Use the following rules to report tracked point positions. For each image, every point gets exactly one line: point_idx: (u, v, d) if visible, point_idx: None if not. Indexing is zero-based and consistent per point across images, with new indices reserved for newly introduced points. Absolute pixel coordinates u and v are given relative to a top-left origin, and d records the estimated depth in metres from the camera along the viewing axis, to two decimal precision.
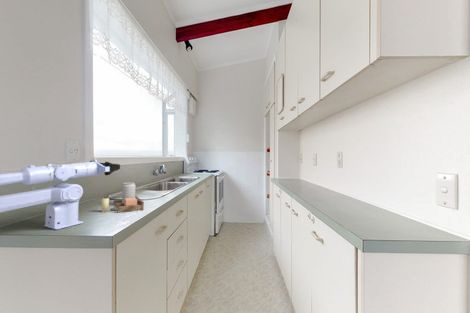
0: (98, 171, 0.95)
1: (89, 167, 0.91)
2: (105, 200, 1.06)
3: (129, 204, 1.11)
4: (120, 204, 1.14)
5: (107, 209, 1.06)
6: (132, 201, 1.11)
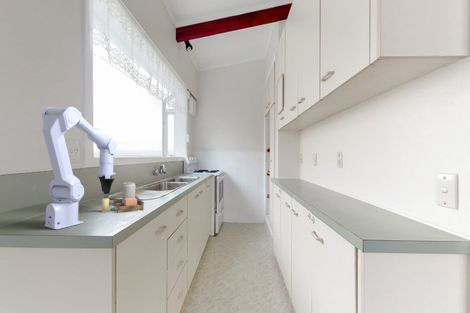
0: (104, 173, 1.04)
1: (109, 165, 1.05)
2: (105, 200, 1.06)
3: (129, 204, 1.11)
4: (120, 204, 1.14)
5: (107, 209, 1.06)
6: (132, 201, 1.11)
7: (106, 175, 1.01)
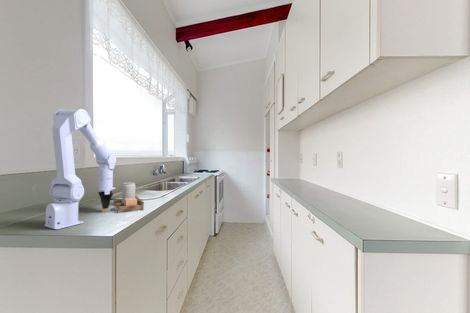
0: (103, 189, 1.04)
1: (108, 181, 1.05)
2: None
3: (129, 204, 1.11)
4: (120, 204, 1.14)
5: (107, 209, 1.06)
6: (132, 201, 1.11)
7: (105, 191, 1.01)
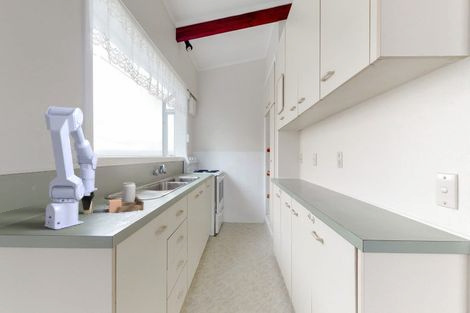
0: None
1: (89, 181, 1.01)
2: None
3: (113, 206, 1.06)
4: None
5: (89, 211, 1.02)
6: (116, 203, 1.07)
7: (85, 192, 0.96)
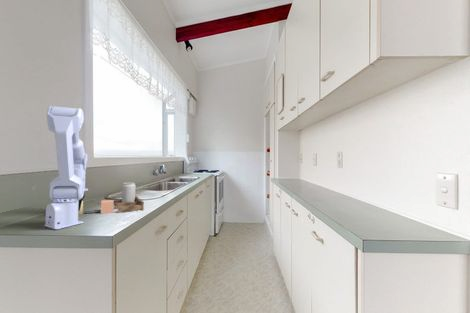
0: None
1: None
2: None
3: (104, 207, 1.04)
4: (120, 204, 1.14)
5: (80, 212, 1.01)
6: (108, 203, 1.05)
7: None
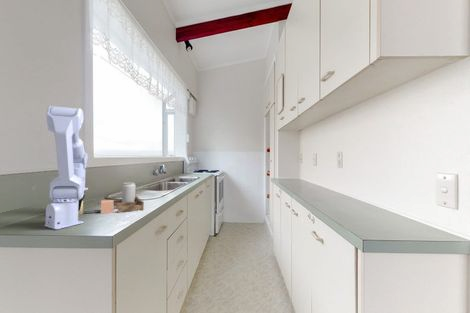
0: None
1: None
2: None
3: (104, 207, 1.04)
4: (120, 204, 1.14)
5: (80, 212, 1.01)
6: (108, 203, 1.05)
7: None
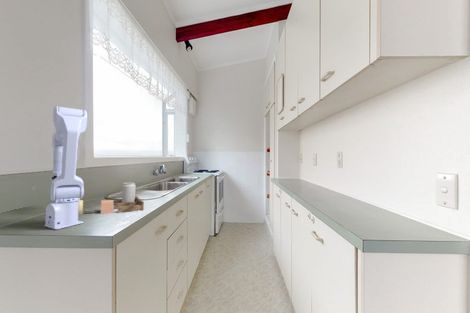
0: (57, 172, 0.99)
1: None
2: None
3: (104, 207, 1.04)
4: (120, 204, 1.14)
5: (80, 212, 1.01)
6: (108, 203, 1.05)
7: (58, 173, 0.96)
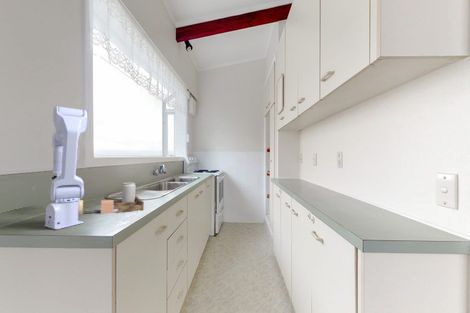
0: (57, 172, 0.99)
1: None
2: None
3: (104, 207, 1.04)
4: (120, 204, 1.14)
5: (80, 212, 1.01)
6: (108, 203, 1.05)
7: (58, 173, 0.96)
